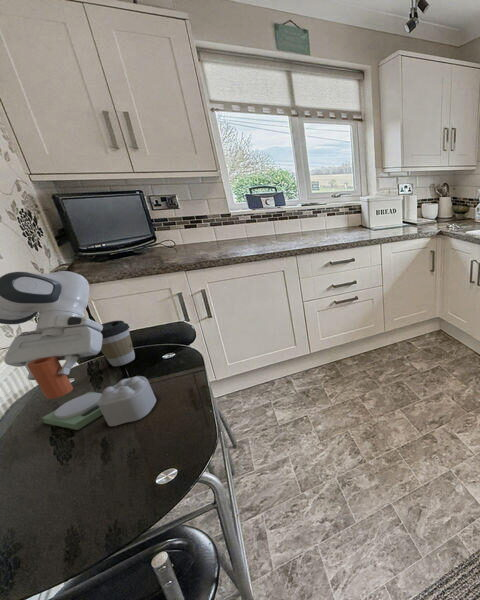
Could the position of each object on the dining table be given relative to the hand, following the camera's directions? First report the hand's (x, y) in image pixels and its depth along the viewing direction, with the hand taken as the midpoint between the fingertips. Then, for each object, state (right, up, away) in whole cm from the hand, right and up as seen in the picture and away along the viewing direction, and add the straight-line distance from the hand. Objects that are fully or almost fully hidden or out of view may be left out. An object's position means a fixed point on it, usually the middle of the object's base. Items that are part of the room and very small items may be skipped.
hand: (48, 377), depth 84 cm
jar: (0, -5, +2) cm, 5 cm away
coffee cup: (-15, -4, +40) cm, 43 cm away
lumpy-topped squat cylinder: (+13, -12, +11) cm, 21 cm away
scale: (-2, -13, +12) cm, 18 cm away
